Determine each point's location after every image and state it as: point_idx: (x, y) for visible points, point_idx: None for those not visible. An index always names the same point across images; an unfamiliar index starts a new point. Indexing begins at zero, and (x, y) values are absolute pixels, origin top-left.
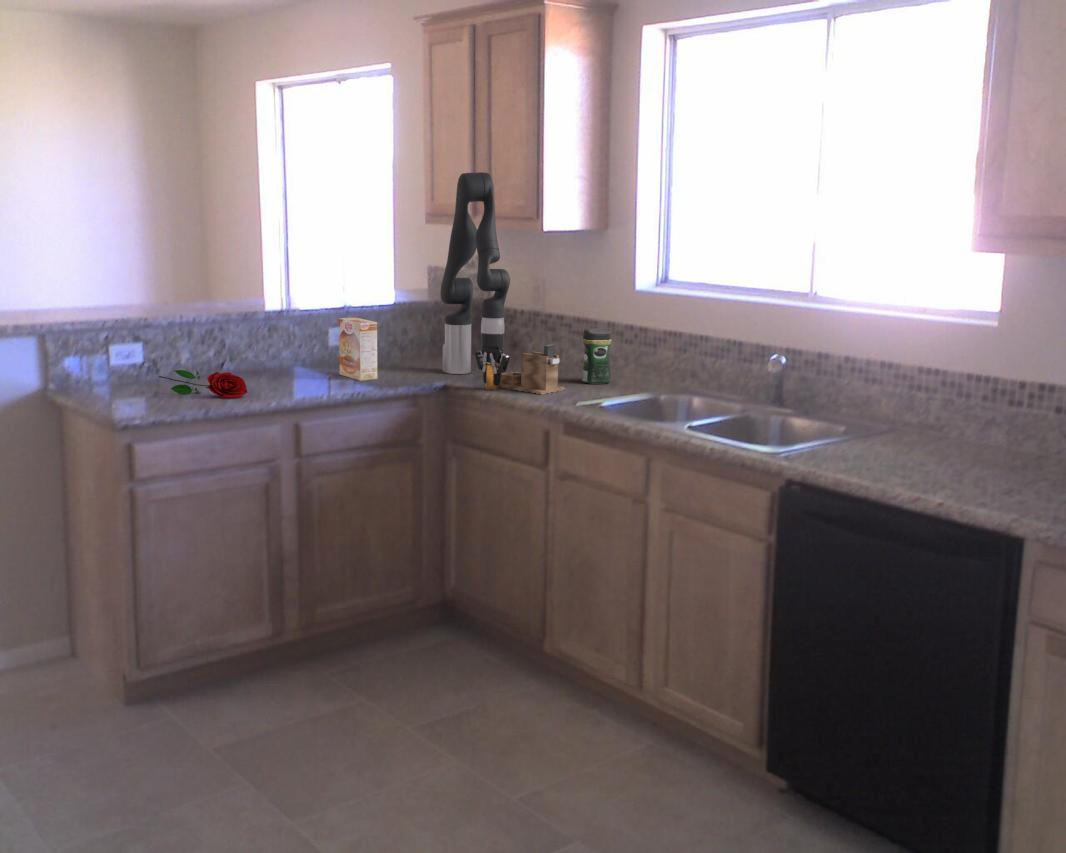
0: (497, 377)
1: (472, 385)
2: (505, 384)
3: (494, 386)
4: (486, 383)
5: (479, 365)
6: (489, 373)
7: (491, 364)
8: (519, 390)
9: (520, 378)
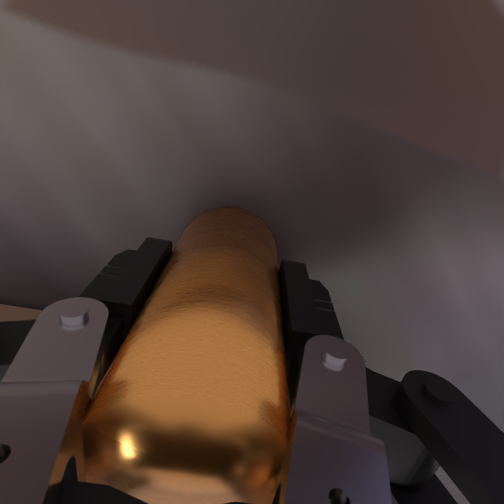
0: (92, 285)
1: (455, 302)
2: None
3: (176, 245)
4: (260, 242)
5: (463, 430)
6: (191, 291)
7: (215, 494)
8: (7, 307)
9: None
